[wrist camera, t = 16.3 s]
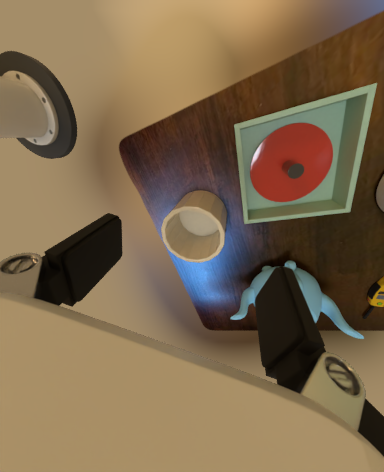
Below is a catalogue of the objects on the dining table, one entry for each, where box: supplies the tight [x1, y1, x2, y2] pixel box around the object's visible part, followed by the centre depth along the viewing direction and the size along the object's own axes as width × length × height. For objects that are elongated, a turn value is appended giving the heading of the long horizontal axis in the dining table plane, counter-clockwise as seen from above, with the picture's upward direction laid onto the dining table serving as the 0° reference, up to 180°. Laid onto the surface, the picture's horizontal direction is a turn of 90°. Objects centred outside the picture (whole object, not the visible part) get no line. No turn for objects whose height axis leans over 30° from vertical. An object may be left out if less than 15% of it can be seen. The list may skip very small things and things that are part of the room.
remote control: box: [363, 277, 384, 319], centre depth 42 cm, size 5×2×15 cm
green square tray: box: [234, 83, 377, 224], centre depth 30 cm, size 18×18×6 cm
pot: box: [161, 190, 227, 263], centre depth 37 cm, size 13×13×10 cm
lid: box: [250, 123, 333, 202], centre depth 30 cm, size 14×14×6 cm
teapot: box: [231, 261, 364, 339], centre depth 41 cm, size 16×20×14 cm
